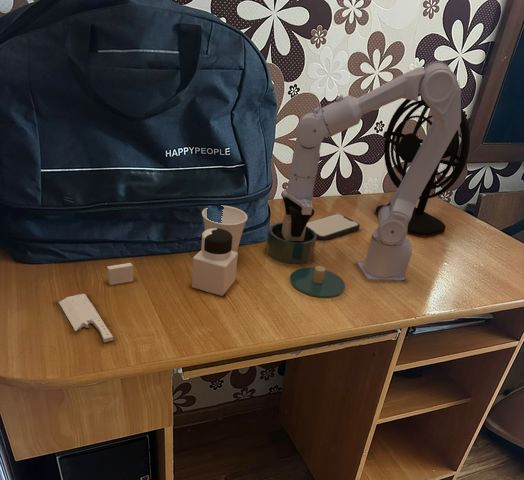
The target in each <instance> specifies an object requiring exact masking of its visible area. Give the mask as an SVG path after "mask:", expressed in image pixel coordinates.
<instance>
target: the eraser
mask: <svg viewBox="0 0 524 480" xmlns="http://www.w3.org/2000/svg"><path fill="white" fill-rule="evenodd" d="M106 270H107V282H108V284H109V286H113V285H119V284H125V283H130V282H134V265H133V264H132V263H131V262H127V263H121V264H114V265H109V266H106Z"/></svg>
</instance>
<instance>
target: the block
mask: <svg viewBox="0 0 524 480" xmlns="http://www.w3.org/2000/svg"><path fill="white" fill-rule="evenodd" d="M282 222H283V226H282V232H281V233H282V235H283V237H284V239H285V241H304V236H305V231H306V226H305V228H304V230H303V232H302V235H301V236H300V237H292V236H291V215H286V214H283V219H282ZM306 225H307V224H306Z"/></svg>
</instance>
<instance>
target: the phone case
mask: <svg viewBox="0 0 524 480" xmlns="http://www.w3.org/2000/svg"><path fill="white" fill-rule="evenodd" d="M306 226H307V227H309V228H310V229H312V230H313V231H315V233H316V235H317V238H316V241H320V242H321V241H322V242H325V241H328V240H330V239H333V238H336V237H339V236H343V235H346V234H349V233H352V232H355V231H358V230H359V229H360V223H359V222H357V221H355V220H353V219H351V218H349V217H347V216H345V215H343V214H341V213H334V214H331V215H328V216H325V217H321V218H317V219H314V220H309V221H308V222H307V225H306Z"/></svg>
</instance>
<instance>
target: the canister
mask: <svg viewBox="0 0 524 480" xmlns="http://www.w3.org/2000/svg"><path fill="white" fill-rule="evenodd" d="M282 226H283V221H282V222H276V223H274V224H271V225H270V227H269V229H268V233H267V234H268V235H267V242H266V249H265V251H266V253H267V256H269V257H270V258H271V259H272V260H274V261H277V262H279V263H282V264H286V265H304V264H308V263H309V262H310V261H312V260H313V257H314V252H315V246H316V242H317V239H316V238H317V235H316V233H315V231H313V230H312V229H310V228H309V227H307V226H306V231H305V236H304V241H285V239H284V237H283V235H282V233H281V232H282Z"/></svg>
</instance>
